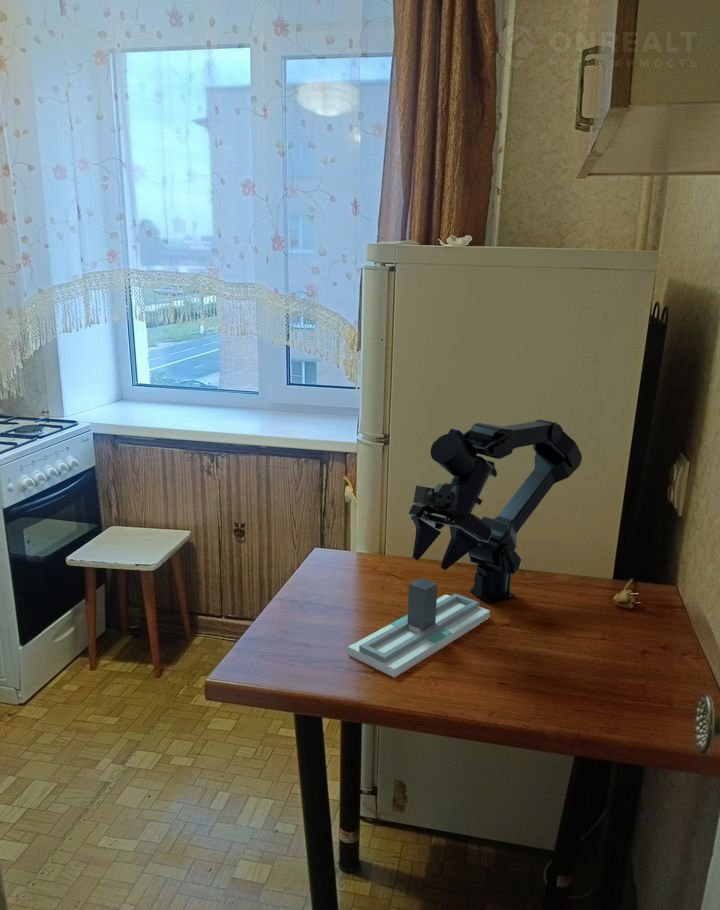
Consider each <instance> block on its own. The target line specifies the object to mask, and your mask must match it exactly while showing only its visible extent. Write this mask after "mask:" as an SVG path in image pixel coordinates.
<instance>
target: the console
mask: <svg viewBox="0 0 720 910" xmlns="http://www.w3.org/2000/svg"><path fill="white" fill-rule="evenodd" d="M490 615H491V610H489V609H486V608H484V607H480V601H476V600H474V599H471V598H469V597H466V596H464V595H461V594H458V593H453V594H451V595H448V594H444V595H442V596H440V597H437V604H436V623H435V624H433V625H432V626H430V627H428V628H426V629H425V630H423V631H421V632H419V633H416V632H413V631H411V630H409V629H408V627H409V624H408V614H406V615H404V616H403V617H401V618H399V619H397V620H396V621H395V620H394V621H393V622H391V623H389V624H388V625H386V626H384V627H382V628H380V629H379V630H377V631H375V632H373V633H371V634H369V635H367V636H366V637H363V638H362V639H359V640H358V641H356V642H354V643H352V644H350V645H349V646H347V656H350V657H352V658H353V659H355V660H358V661H359V662H361V663H364V664H366V665H368V666H370V667H372V668H373V669H376V670H378V671H380V672H382V673H384V674H386V675H388V676H391V677H392V678H394V679H395V678H396V677H398V676H399V675H401V674H403V673H404V672H405V671H407V670H409V669H410V668H412V667H413V666H415V665H418V663H420V662H421V661H423V660H425V659H426V658H428V657H430V656H431V655H433V654H435V653H436V652H438V651H439V650H441V649H443V648H445V647H446V646H447V645H449V644H451V643H452V642H453V641H455V640H457V639H458V638H461V637H462V636H464V635H466V633H468V632H469V631H471V630H472V629H474V628H476V627H478V626H479V625H481V624H483V623H484V622H485V620H486V621H487V620H488V618H489V619H490ZM482 622H483V623H482ZM480 623H481V624H480Z"/></svg>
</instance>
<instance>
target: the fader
mask: <svg viewBox="0 0 720 910" xmlns="http://www.w3.org/2000/svg"><path fill="white" fill-rule="evenodd" d="M438 584H439V583H436V582H434V581H431V580H429V579H426V578H424V577H423V578H422V577H420V578H418V579H416V580H414V581H412V582H410V583H408V600H407V601H408V603H407V604H408V605H407V606H408V607H407V615H408V624H409V627H408V629H409V630H411V631H413V632H416V633H419V632H421V631H423V630H425V629H426V628H428V627H430V626H432V625H433V624H435V623H436V604H437V599H438Z"/></svg>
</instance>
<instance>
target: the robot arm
mask: <svg viewBox="0 0 720 910" xmlns="http://www.w3.org/2000/svg"><path fill="white" fill-rule="evenodd" d="M527 446H532V449H533V450H534V452H535V455H534V468H533V470H532V472H531V473H529V475H528V476H527V478H526V479H525V480H523V482H522V484H521V485H520V487H518V489H517V490H516V491H515V493H514V494H513V496H512V497H511V498H510V499H509V501H508V502H507V503H506V505H505V506H504V507H503V508H502V509H501V511H500V512H499V514H498V515H497V516H496V517H494V518H491V517H487V516H483V517H482V518H480V517H478V516H477V515H475V514H473V513H472V512H473V510H474V507H475V506H476V505H478V506H481V504H482V502H483V499H481V498H479V497H480V495H481V493H482V491H483V489H484V487H485V485H486V483H487V482H488V481H487V480H488V479H489V477H490V476H491V477H494V478H496V477H497V476H498V472H497V468H496V467H495V462H494V461H492V460H488V459H485V458H484V457H487V458H493V459H495V460H501V459H503V458H505V457H507V456H510V455H511V454H512V453H513V451H514V450H515V449H516V448H517V449H518V448H522V447H523V448H524V447H527ZM482 456H483V457H482ZM430 457H431V459H432V460H433V461H434V462H435V463H437V464H438V465H439V466H440V467H441V468H442V469H444V471H446V472H447V473H449V474H450V475H451V476H453V477H452V479H451V481H450V483H447V482H445V483H437V484H436V486H435V487H428V486H422V485H415V491H414V496H413V503H414V504H412V506H411V507H410V510H409V512H408V515H410V520H411V521H413V523H414V526H415V537H414V545H413V551H412V558H413V560H415V561H418V560H420V559H421V557H422V556H423V555H424V554H425V553H426V552H427V550H428V549H429V548H430V547H431V546H432V544H433V543H434V542H435V541H436V540H437V538H438V537H439V536H440V535H441V534H442V531H440V530H441V529H443V528H444V527H445V526H447V527H449V533H450V540H449V542H448V544H447V547H446V550H445V553H444V555H443V558H442V561H441V563H440V568H441V569H442V570H444V571H446V570H448V569H449V568H450V567H451V566H453V565H454V564H455V563H456V562H458V561H459V560H460V559H461V558H463V557H464V556H466V555H467V554H468V557H469V560H470V563H474V564H476V573H475V574H474V582H473V587H471V588H470V589H469V590H470V592H471V593H472V594H474V595H475V596H477V597H479V598H480V599H482V600H484V601H485V602H487V603H488V604H493V603H496V602H497V603H498V602H501V600H502V601H506V600H509V599H508V598H510V599H513V597H514V598H515V593H513V592H511V591H510V588H511V579H512V575H515V574H516V571H518V570H519V567H520V566H521V565H520V564H521V561H522V558H521V557H520V556H519V555H518V553H517V551H515V550H516V548H517V534H518V532H519V531H520V529H522V527H523V526H524V524H526V522H527V520H528V519H529V517H530V516H531V515H532V514H533V512H534V511H535V510H536V508H537V507H538V506H539V504H540V503H541V502H542V500H543V499H544V498H545V496H546V495H547V494H548V492H549V491H550V490H551V488H552V487H553V486H554V485H555V484H556V483H559V482H561V481H563V480H566V479H569V477H570V476H572V475H573V474H574V472H576V470H578V468H579V467H580V466H581V463H582V460H583V455H582V452H581V449H580V448H579V446H578V444H577V443H576V441H575V440H574V439H572V437H571V436H569V434H567V433H566V432H565V431H564V429H563V428H562V426H561V424H558V422H555V421H549V420H545V419H536V420H534V421H531V422H523V423H517V424H510V425H503V426H502V425H495V424H490V423H482V422H477V423H474V424H473V425H472V426H471V428H470V429H469V430H467V431H466V432H464V433H463V432H462V431H461V430H459V429H455V428H450V429H449V431H448V433H446V434H442V435H441V436H439V437H438V438H437V439H436V440H434V441H433V443H432V445H431V447H430ZM505 599H506V600H505Z"/></svg>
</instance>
